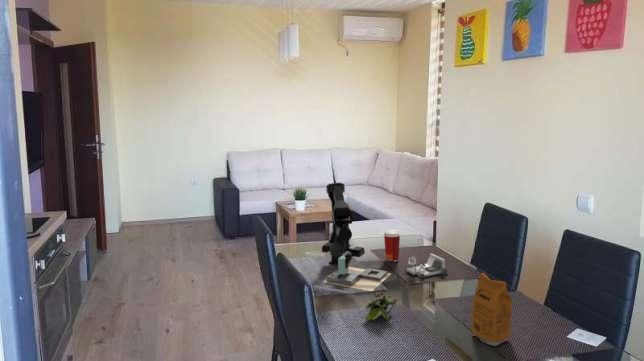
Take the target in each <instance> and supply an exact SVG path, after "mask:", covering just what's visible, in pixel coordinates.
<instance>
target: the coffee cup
mask: <svg viewBox="0 0 644 361" xmlns="http://www.w3.org/2000/svg"><path fill="white" fill-rule="evenodd" d="M382 235H383V236H384V239H383V240H384V250H385V260H386V259H388V260H393V261H394V260H398V259H399V258H400V241H401V240H400V238H401V237H400V236H401V232H400V231H399V230H398V229H387V230H385V231H384V232H383V234H382ZM399 260H400V259H399ZM399 260H398V261H399Z"/></svg>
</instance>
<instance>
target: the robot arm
mask: <svg viewBox="0 0 644 361" xmlns="http://www.w3.org/2000/svg"><path fill="white" fill-rule="evenodd" d="M345 186H346V185H345V184H344V183H343V182H332V183H328V184H327V185H326V189H325V191H326V194H327V196H328V198H329V200H330V202H331V203H330V204H331V205H330V206H331V225H332V226H331V227H332V228H331V229H332V230H331V232H330V234H329V239H328V240H327V241H328V242H327V243H324V244H323V245H322V246H321V252H322V253H325V254H327V253H330V255H331V256H330V257H331V260H330V261H328V263H329V264H333V265H338V258H339V257H341V256H345V258H346V269H348V267H350V264H351V261H352V259H353V258H354V257H355V258H360V257H362V256H363V255H365V253H366V251H365V248H364V247H362V246H355V247H353V248H351V246H352V245H351V243H350V240H351V239H352V236H353V233H352V230H351V228H350V227H349V226H350V225H351V224H353V221H354V217H353V211H352V209H351V208H350V206H349V204H348V203H347V201H345V197H344V193H345V192H346V190H345ZM349 224H350V225H349ZM344 254H345V255H344Z"/></svg>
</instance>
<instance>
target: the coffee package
mask: <svg viewBox="0 0 644 361" xmlns="http://www.w3.org/2000/svg"><path fill="white" fill-rule="evenodd" d="M508 286H509V284H508V282H505V281H500V280H495V279H491V278H489V277H488V276H487V275H486V274H485V273H484V272H482V273H480V276H479V279H478V282H477V286H476V288H475V292H474V295H473V302H472V309H471V333H472V332H473V334H475V335H477V336H478V337H479V338H482V339H485V340H487V341H491V342H499V341H503V340H505V339H506V338H508V337H510V338H511V332H512V331H511V324H512V308H513V301H512V298H511V296H510V293H509V291H508V288H507V287H508Z"/></svg>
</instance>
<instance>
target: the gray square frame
mask: <svg viewBox="0 0 644 361" xmlns="http://www.w3.org/2000/svg"><path fill="white" fill-rule="evenodd" d="M371 273H375V274H377V275H376V276H374V275H370V274H371ZM388 273H389V272H388V270H381V269H374V268H369V267H367V268H366V270H365V271H363V272H362V273H361V278H367V279H373V280H379V281H380V280H381V279H382V278H384V277H385V276H386V275H387V274H388Z"/></svg>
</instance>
